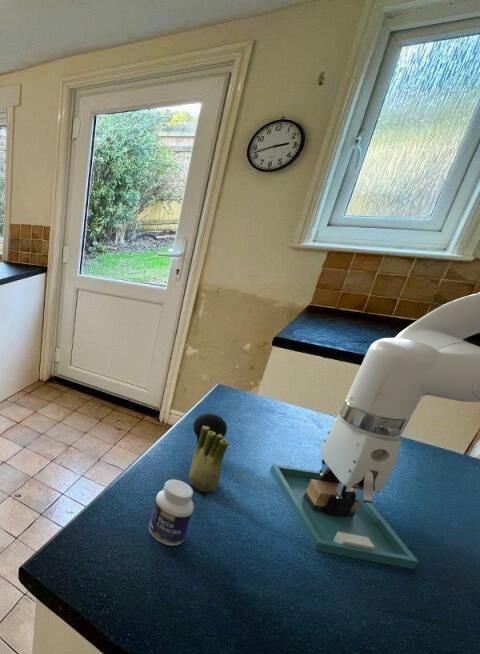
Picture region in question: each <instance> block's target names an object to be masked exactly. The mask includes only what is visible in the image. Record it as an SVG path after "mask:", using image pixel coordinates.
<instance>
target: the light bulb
mask: <svg viewBox="0 0 480 654" xmlns="http://www.w3.org/2000/svg"><path fill="white" fill-rule="evenodd" d="M202 426H207V427H209V428H210V431H213V432H215V433H216V437H217V435H218V434H221V435H222V436H223V438H225V436H226V434H227V432H228V426H227V423H226V421H225V420H224V419H223V417H222V416H220V415H218V414H216V413H212V412H206V413H202V414H200V415H198V416H197V417H196V418H195V420H194V421H193V425H192V429H193V432H194V434H195V436H196V444H197V443H198V441H199V437H200V433H201V429H202ZM216 437H215V439H216Z"/></svg>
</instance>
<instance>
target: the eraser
mask: <svg viewBox="0 0 480 654" xmlns="http://www.w3.org/2000/svg"><path fill="white" fill-rule="evenodd" d="M338 485H339V483H332V482H326V481H319V480H313V479H311V481H310V483H309V485H308V488H307V490H306V492H305V494H304V498H305V499H306V501H307V503H308V504H309V506H310V507H311V509H312V510H313V511H319V512H324V509H325V507H326V505H327V503H328V501H329V499H330V497H331V495H332V494H336V491H337V488H338ZM353 490H354V488H347V489H346V492H348V491H351V492H353ZM360 504H361V502H355V503H354V505H353V507H352V509H351V510H350V512H349V514H348V516H349V517H354V515H355V513H356V511H357V509H358V507H359V506H360Z"/></svg>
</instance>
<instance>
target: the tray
mask: <svg viewBox="0 0 480 654" xmlns="http://www.w3.org/2000/svg"><path fill="white" fill-rule="evenodd" d="M269 471H270V473H271V475H272V478H273V479H274V480H275V482H276V484H277V486H278V488H279V489H280V491H281V493H282V494H283V496H284V498H285V500H286V501H287V503H288V506H289V507H290V509H291V511H292V512H293V514H294V516H295V517H296V520H297V521H298V523H299V524H300V527H301V529H302V530H303V531H304V533H305V535H306V538H307V539H308V540H309V542H310V544H311V546H312V548H313V549H314V550H315V551H316V552H317V551H318V552H323V553H328V554H334V555H339V556H344V557H350V558H355V559H360V560H364V561H371V562H376V563H380V564H385V565H390V566H397V567H401V568H405V569H406V568H407V569H412V570H414V569H415V568H416V567H417V566H418V564H419V562H420V561H419V560H418V559H417V557H416V556H415V555H414V554H413V552H411V549H409V548H408V547H407V545H406V544H405V543H404V542H403V540H402V539H401V538H400V537H399V535H398V534H397V533H396V532H395V530H394V529H393V528H392V527H391V525H390V524H389V523H388V522H387V521H386V519H385V518H384V516H382V515H381V513H380V512H379V511H378V510H377V508H376V507H375V506H374V504H373V503H364V502H361V504H360V506H359V507H358V509H357V511H356V513H355V515H354V517H349V516H347V517H340V516H334V515H328V514H326V513H325V512H319V511H313V510H312V509H311V507H310V506H309V504H308V503H307V501H306V499H305V498H304V494H305V492H306V490H307V488H308V485H309V483H310V481H311V479H313V480H318V479H319V477H322V476H320V474H319V472H320V470H313V469H307V468H300V467H294V466H287V465H281V464H273V463H272V464H271V467H270V469H269ZM338 480H339V479H338ZM337 532H342V533H348V534H353V535H358V536H364V537H368V538H369V539H370V541H371V542H372V544H373V545H374V546H375V548H374V550H372V549H367V548H362V547H356V546H351V545H345V544H340V543H335V542H334V541H333V539H334V538H335V536H336V534H337Z"/></svg>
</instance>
